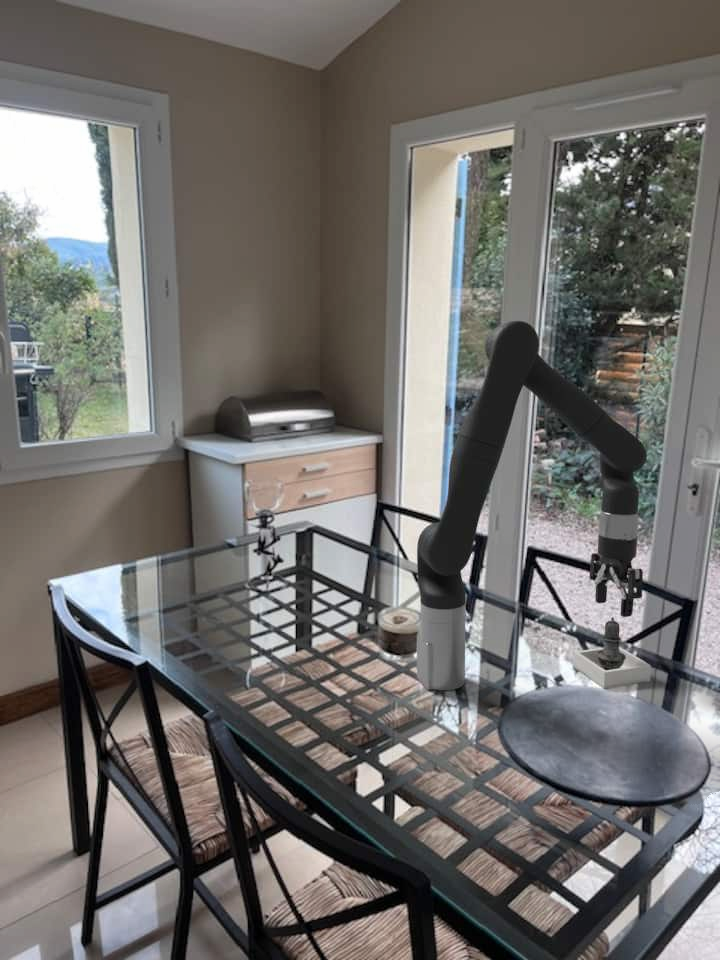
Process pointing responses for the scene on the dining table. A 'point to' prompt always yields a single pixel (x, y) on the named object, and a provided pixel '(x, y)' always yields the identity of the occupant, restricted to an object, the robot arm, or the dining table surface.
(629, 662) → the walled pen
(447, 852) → the dining table surface
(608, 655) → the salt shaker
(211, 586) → the dining table surface
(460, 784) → the dining table surface
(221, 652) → the dining table surface
